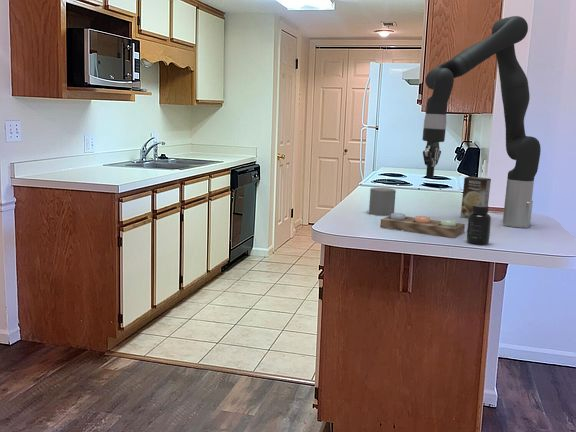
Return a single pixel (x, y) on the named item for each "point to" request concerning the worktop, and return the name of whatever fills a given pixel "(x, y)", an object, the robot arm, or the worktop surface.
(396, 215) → the slate button
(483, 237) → the supplement bottle
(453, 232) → the button panel
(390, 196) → the coffee mug
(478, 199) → the coffee box
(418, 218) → the terracotta button
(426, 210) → the worktop surface
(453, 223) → the sage button
